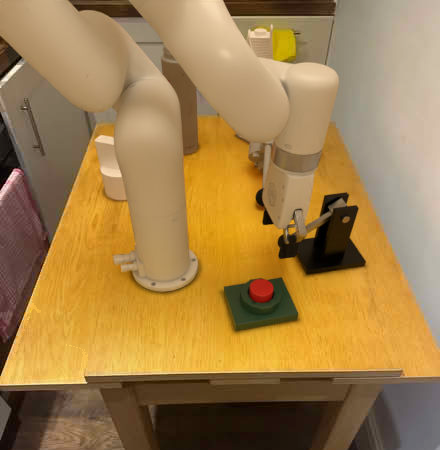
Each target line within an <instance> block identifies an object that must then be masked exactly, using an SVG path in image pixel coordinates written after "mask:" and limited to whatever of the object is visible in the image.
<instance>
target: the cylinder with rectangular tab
mask: <svg viewBox="0 0 440 450" xmlns="http://www.w3.org/2000/svg"><path fill="white" fill-rule="evenodd" d="M94 147H95V149H96V150H95V151H96V155H97V158H98V163H99V171H100V175H101V180H102V184H103V189H104V192H105V195H106V196H107V197H108V198H110V199H112V200H115V201H127V198H126V193H125V188H124V183H123V179H122V175H121V172H120V169H119V166H118V162H117V159H116V155H115V149H114V136H109V135H103V134H100V135H99V136H98V137H96V138H95V139H94Z"/></svg>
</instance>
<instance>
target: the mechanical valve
mask: <svg viewBox="0 0 440 450" xmlns="http://www.w3.org/2000/svg"><path fill="white" fill-rule="evenodd" d="M273 141H274V139H273V140H270V141H268V142H264V143H255V142H251V143H250V144H249V143H248V155H247V158H248V160H249V161H250V162H252V163H253V164H254V165H253V166H254V168H256V169H257V171H258V172H260V173H262V182H261V183H262V184H261V185H262V186H261V188H260V189H257V192H256V194H255V198H254V199H255V203H256V204H257V205H258V206H260V207H263V208H265V205H264V203H263V199H262V194H263V189H264V184H265V179H266V174H267V170H268V166H269V163H270V160H271V154H272V147H273Z"/></svg>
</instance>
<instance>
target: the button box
mask: <svg viewBox="0 0 440 450" xmlns="http://www.w3.org/2000/svg"><path fill="white" fill-rule="evenodd" d="M257 279H265V280H268V281H269V282H271V283H272V285H273V288H274V289H273V296H272V298H271V299H270V300H269V301H268V302H265V303H259V302H255V301H254V300H252V299H251V297H250V295H249V290H250V284H251V283H252V282H253V281H254V280H257ZM223 296H224V299H225V302H226V305H227V308H228V311H229V314H230V317H231V321H232V323H233V327H234V331H235V332H237V331H242V330H247V329H248V330H249V329H253V328H260V327H265V326H270V325H271V326H272V325H278V324H283V323H287V322H292V321H293V322H294V321H298V318H299V314H300V313H299V311H298V309H297V307H296V305H295V303H294V301H293V298H292V297H291V294H290V292H289V290H288V288H287V286H286V283H285V281H284V279H283V277H282V276H279V277H274V278H269V279H267V278H263V277H258V278H253V279H249V280H248V281H246V282H243V283H242V282H241V283H237V284H236V283H235V284H229V285H225V286H223Z"/></svg>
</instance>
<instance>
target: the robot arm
mask: <svg viewBox="0 0 440 450" xmlns="http://www.w3.org/2000/svg"><path fill="white" fill-rule="evenodd" d="M127 1H128V2H129V3H130V4H131V5H132V6H133V7H134V9H135V10H136V11H137V13H139V14H140V15H141V16H142V18H143V19H144V20H145V21H146V22H147V24H148V25H149V26H150V27H151V28H152V30H154V32H155V33H156V34H157V36H158V37H159V38H160V40H161V41H162V43H163V45H164V44H165V46H166V48H167V49H168V50H169V52H170V53H171V54H172V56H173V57H174V58H175V59H176V61H177V62H178V63H179V65H180V66H181V67H182V68H183V70H184V71H185V73H186V74H187V75H188V77H189V78H190V79H191V81H192V82H193V84H194V85H195V86H196V90H197V91H199V92H200V94H201V96H202V97H203V98H204V99H205V100H206V102H207V103H208V104H209V105H210V106H211V107H212V109H213V110H214V111H215V112H216V113H217V114H218V115H219V116H220V117H221V118H222V120H223V121H224V122H225V123H226V124H227V125H228V127H230V129H232V130H233V132H235V133H236V134H238V135H239V136H241V137H242V138H244V139H246V140H248V141H250V142H255V143H264V142H268V141H270V140H273V139H274V141H273V147H272V154H271V160H270V163H269V166H268V170H267V174H266V179H265V184H264V189H263V194H262V199H263V203H264V205H265V207H263V208H264V209H263V215H262V225H263V226H272V225H274V226H275V228H276V229H278V230H282V232H283V233H282V234H284V240H281V245H280V248H279V250H278V255H277V257H278V259H279V260H286V259H294V258H297V255H296V254H297V250H298V246H299V243H301V242H303V240H304V239H306V237H307V236H308V234H307V230H306V221H307V219H308V218H307V217H308V214H309V210H310V205H311V200H312V195H313V189H314V182H315V172H317V170H318V168H319V165H320V161H321V156H322V153H323V149H324V145H325V142H326V141H325V140H326V137H327V133H328V129H329V126H330V122H331V119H332V118H331V117H332V114H333V110H334V106H335V103H336V99H337V94H338V91H339V86H340V78H339V75H338V73H337V71H336V70H335V69H333V68H331V66H327V65H326V64H322V63H317V62H311V61H308V62H305V61H304V62H298V63H291V62H283V61H279V60H275V59H273V60H271V59H267V58H262V57H257V56H256V55H255V53H254V52H253V50H252V49H251V48H250V46H249V45H248V43H247V42H246V41H247V39H245V36H243V34H242V32H241V31H240V29H239V28H238V26H237V24H236V22H235V21H234V19H233V17H232V16H231V14H230V12H229V10H228V8H227V5H226V4H225V2H224V0H127ZM0 37H1V38H2V39H3V40H4V41H5V42H6V43H7V44H9V46H10V47H11V48H12V49H13V50H14V51H15V52H16V53H17V54H18V55H19V56H20V57H21V58H22V59H24V60H25V62H27V63H28V65H30V66H31V67H32V68H33V69H34V70H35V71H36V72H37V73H39V74H40V75H41V77H43V78H44V79H45V80H46V81H47V82H48V83H49V84H50V85H51V86H52V87H53V88H54V89H55V90H56V91H58V93H60V94H61V95H62V96H63V97H64V98H65V99H66V100H67V101H69V102H70V103H71V104H72V105H73V106H74V107H76V108H78V109H80V110H82V111H84V112H87V113H91V114H99V113H104V112H106V111H108V110H110V109H111V108H112V109H113V110H114V111H115V112H116V115H115V122H114V128H113V137H114V149H115V155H116V159H117V162H118V166H119V169H120V172H121V175H122V179H123V183H124V188H125V193H126V198H127V200H126V203H127V206H128V212H129V217H130V223H131V227H132V228H131V229H132V234H133V238H134V250H130V251H129V253H128V252H127V253H118V254H113V255H112V259H113V264H114V266H119V265H120V271H121V273H126V272H129V271H131V272H132V276H133V278H134V280H135V282H137V284H138V285H140V286H141V287H143V288H145V289H147V290H150V291H154V292H172V291H176V290H179V289H181V288H184V287H186V286H187V285H189V284H191V282H192V281H193V280H194V279H195V278H196V276H197V274H198V272H199V260H198V258H197V255H196V254H195V253H194V251H192V249H190V242H189V228H188V213H187V212H188V210H187V198H186V182H185V181H186V179H185V163H184V155H183V137H182V122H181V110H180V104H179V99H178V97H177V94H176V92H175V90H174V89H173V87H172V86H171V84H170V83H169V82H168V80H167V79H166V78H165V77H164V76H163V74H162V71H160V69H159V68H158V67H157V66H156V65H155V64H154V63H153V61H152V60H151V59H150V57H148V55H147V54H146V53H145V51H143V49H142V48H141V47H140V46H139V45H138V44H137V42H136V41H135V40H134V39H133V38H132V37H131V35H130V34H129V33H128V32H127V31H126V29H125V28H123V27H122V26H121V24H119V22H117V21H115V19H113V18H112V17H110V16H109V15H107V14H105V13H103V12H101V11H97V10H94V9H93V10H92V9H90V10H89V9H85V10H78V9H77V8H76V7H75V6H74V5H73V4H72V3H71V2H70V1H69V0H0ZM292 221H293V222H294V223H291V222H292ZM290 229H295V230H294V231H295V232H296V233H295V235H292V236H289V234H290Z"/></svg>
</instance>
